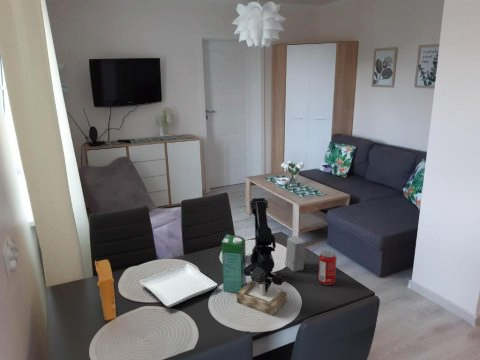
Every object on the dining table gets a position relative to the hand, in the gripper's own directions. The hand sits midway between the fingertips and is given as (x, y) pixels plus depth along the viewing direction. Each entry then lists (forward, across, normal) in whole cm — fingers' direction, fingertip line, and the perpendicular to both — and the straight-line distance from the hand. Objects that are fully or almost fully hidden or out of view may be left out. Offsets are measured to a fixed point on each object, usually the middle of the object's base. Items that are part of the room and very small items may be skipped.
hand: (264, 291), depth 167 cm
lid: (+1, 0, 0) cm, 1 cm away
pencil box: (+4, 0, -3) cm, 5 cm away
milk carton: (+4, -17, +1) cm, 17 cm away
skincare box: (+4, -1, +33) cm, 33 cm away
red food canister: (+4, +18, +28) cm, 34 cm away
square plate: (+5, -39, -14) cm, 42 cm away
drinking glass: (+4, -32, +24) cm, 40 cm away
